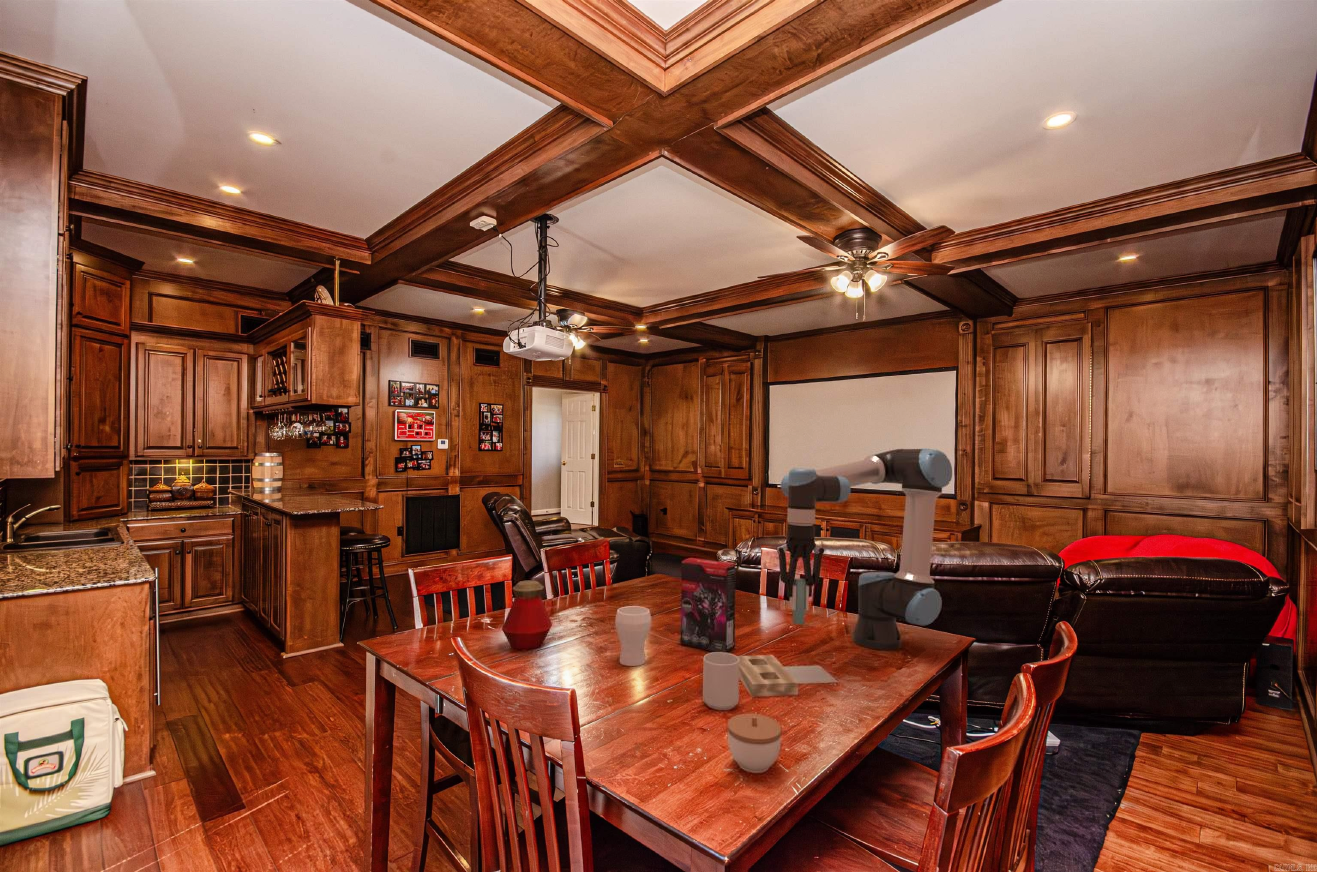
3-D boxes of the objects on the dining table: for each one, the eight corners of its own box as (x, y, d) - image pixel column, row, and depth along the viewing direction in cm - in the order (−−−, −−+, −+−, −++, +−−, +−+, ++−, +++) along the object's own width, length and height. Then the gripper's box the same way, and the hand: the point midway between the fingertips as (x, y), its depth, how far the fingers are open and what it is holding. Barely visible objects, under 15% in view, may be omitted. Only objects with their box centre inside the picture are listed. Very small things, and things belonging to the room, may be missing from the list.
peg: (802, 621, 161) (803, 578, 161) (806, 624, 158) (807, 580, 158) (791, 621, 160) (792, 578, 161) (795, 624, 157) (796, 580, 158)
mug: (732, 714, 136) (733, 667, 137) (697, 707, 140) (698, 661, 140) (746, 695, 147) (746, 651, 148) (713, 688, 151) (713, 646, 151)
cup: (657, 661, 170) (658, 610, 170) (632, 671, 162) (633, 617, 162) (632, 652, 177) (633, 603, 177) (607, 661, 169) (608, 610, 170)
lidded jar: (720, 772, 112) (721, 723, 112) (733, 746, 122) (734, 701, 122) (776, 785, 108) (776, 734, 108) (784, 756, 118) (785, 710, 118)
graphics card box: (678, 644, 185) (679, 559, 185) (689, 639, 191) (690, 556, 191) (726, 656, 175) (727, 566, 176) (736, 649, 181) (737, 563, 182)
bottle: (549, 636, 190) (550, 576, 191) (554, 650, 177) (556, 585, 178) (500, 641, 185) (501, 578, 186) (502, 655, 173) (504, 588, 173)
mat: (819, 666, 168) (819, 665, 168) (837, 683, 156) (837, 681, 156) (780, 668, 166) (780, 666, 166) (795, 684, 154) (795, 683, 154)
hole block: (772, 667, 167) (772, 654, 167) (798, 696, 147) (798, 682, 147) (732, 668, 165) (732, 656, 165) (752, 698, 146) (752, 684, 146)
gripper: (823, 522, 165) (821, 605, 164) (768, 521, 163) (766, 605, 162) (834, 526, 157) (832, 612, 156) (777, 524, 155) (775, 612, 154)
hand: (798, 608), depth 159 cm, fingers closed on peg, 3 cm apart
